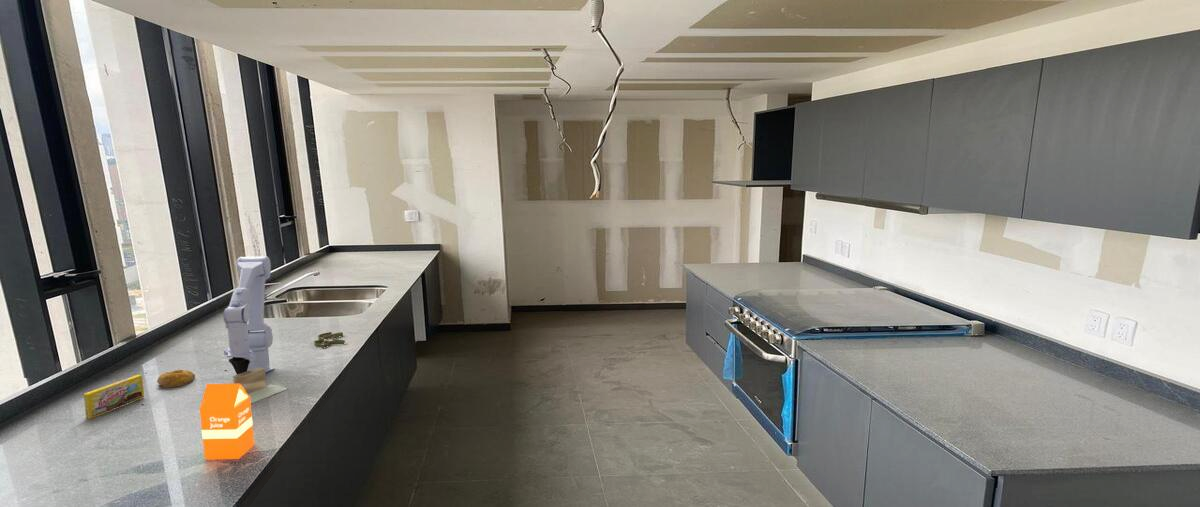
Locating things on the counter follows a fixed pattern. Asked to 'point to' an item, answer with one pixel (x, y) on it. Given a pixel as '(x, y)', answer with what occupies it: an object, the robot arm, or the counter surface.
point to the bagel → (175, 378)
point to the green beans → (326, 336)
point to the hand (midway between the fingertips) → (242, 376)
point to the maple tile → (251, 379)
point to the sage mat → (265, 393)
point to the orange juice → (226, 421)
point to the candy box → (113, 396)
